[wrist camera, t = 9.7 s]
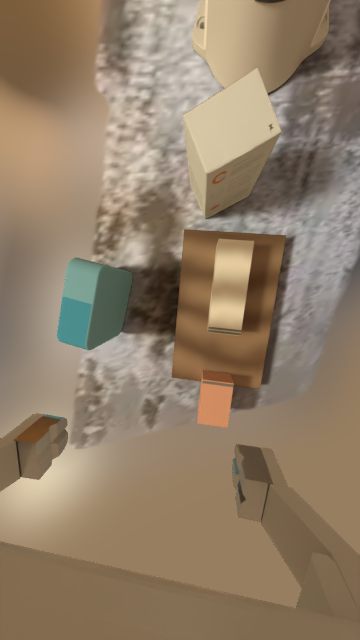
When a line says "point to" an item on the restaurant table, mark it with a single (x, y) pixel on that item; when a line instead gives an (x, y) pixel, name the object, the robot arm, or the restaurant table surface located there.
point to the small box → (229, 142)
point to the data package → (93, 303)
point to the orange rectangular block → (215, 398)
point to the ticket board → (198, 303)
